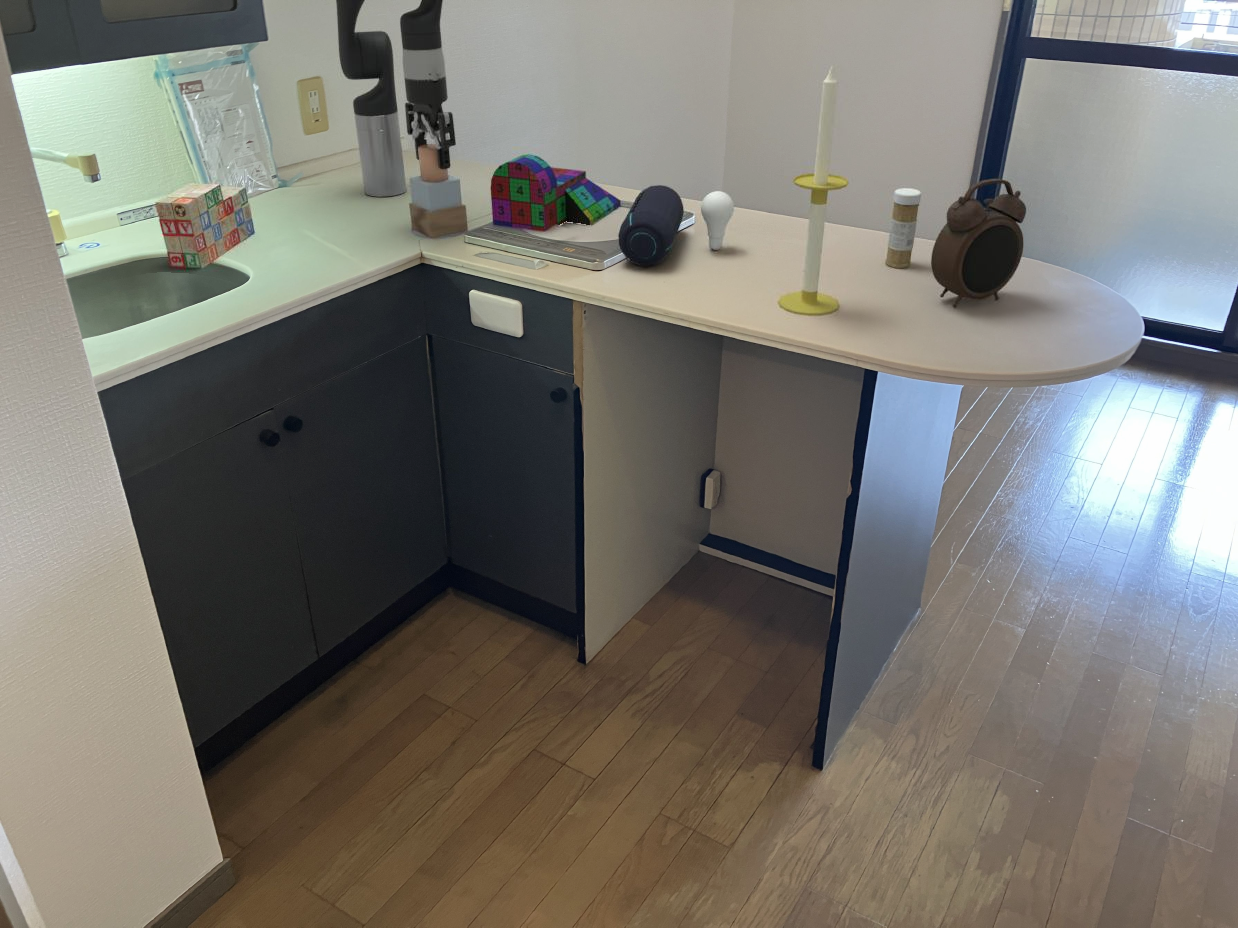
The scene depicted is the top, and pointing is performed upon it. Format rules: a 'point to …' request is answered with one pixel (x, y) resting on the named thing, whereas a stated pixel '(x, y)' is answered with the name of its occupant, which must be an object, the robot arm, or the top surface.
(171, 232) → the stack of blocks
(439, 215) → the walnut base block
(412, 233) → the slate coaster
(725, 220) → the lightbulb
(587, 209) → the numbered checker block
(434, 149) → the peach rounded cylinder
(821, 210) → the candle
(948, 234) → the alarm clock
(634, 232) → the portable speaker
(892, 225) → the sprinkles bottle
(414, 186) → the grey-blue top block
